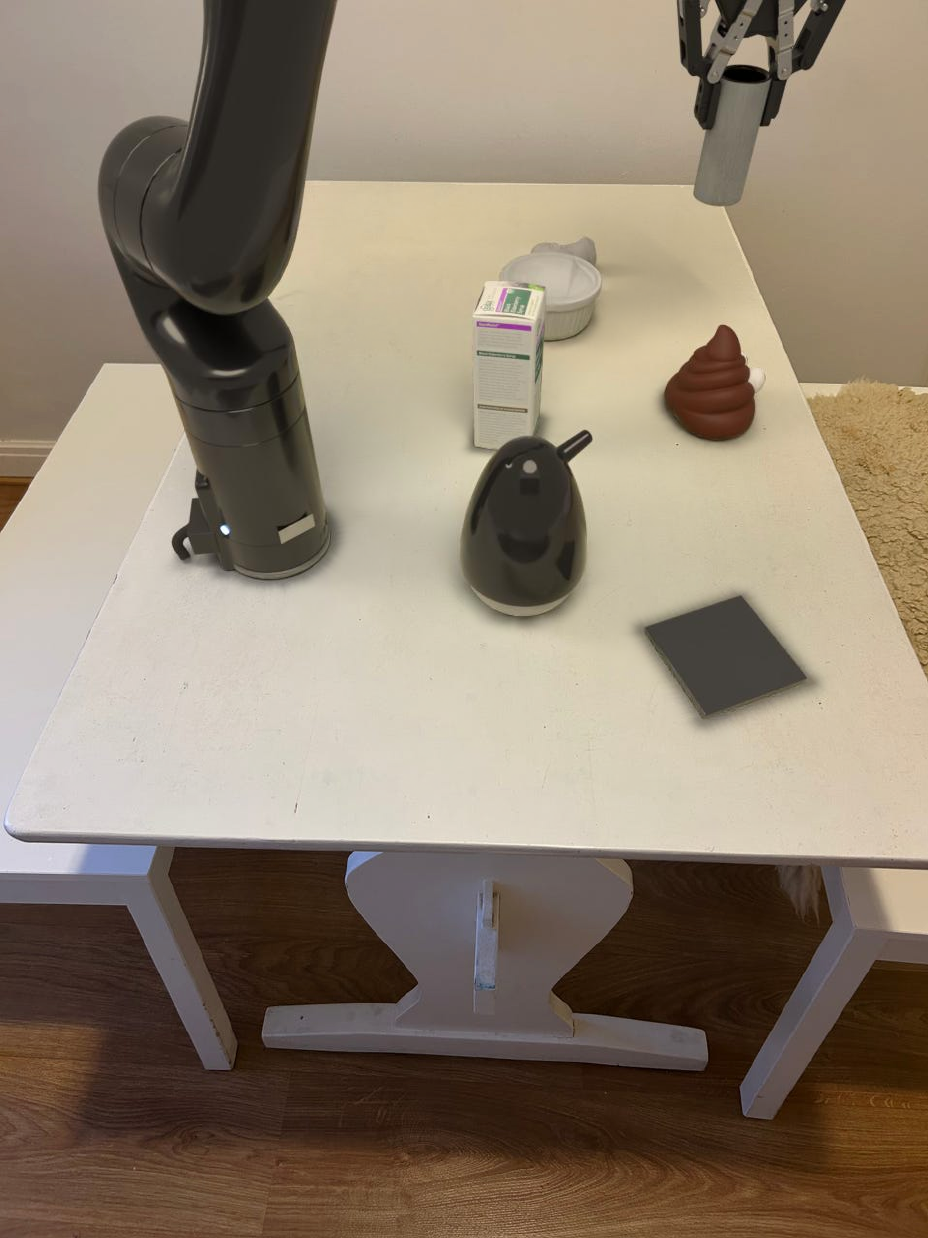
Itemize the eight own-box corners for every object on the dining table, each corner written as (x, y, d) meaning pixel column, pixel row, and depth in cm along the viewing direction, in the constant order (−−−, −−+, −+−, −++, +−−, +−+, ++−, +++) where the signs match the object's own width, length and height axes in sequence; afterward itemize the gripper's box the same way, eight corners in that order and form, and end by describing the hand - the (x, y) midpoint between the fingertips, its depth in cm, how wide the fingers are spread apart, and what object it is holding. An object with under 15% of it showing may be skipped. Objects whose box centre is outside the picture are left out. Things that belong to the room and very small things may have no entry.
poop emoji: (646, 393, 87) (662, 311, 80) (717, 376, 89) (739, 294, 82) (696, 452, 81) (718, 369, 74) (771, 432, 83) (800, 349, 76)
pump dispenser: (607, 604, 69) (636, 460, 57) (500, 654, 66) (506, 514, 54) (540, 528, 75) (553, 383, 63) (438, 571, 71) (431, 427, 60)
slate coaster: (704, 720, 62) (705, 715, 61) (643, 631, 67) (645, 626, 67) (805, 682, 64) (808, 677, 63) (739, 599, 69) (741, 594, 69)
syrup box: (531, 455, 81) (540, 319, 70) (471, 447, 82) (471, 311, 70) (539, 419, 84) (550, 283, 73) (482, 412, 85) (484, 277, 74)
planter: (734, 185, 81) (764, 63, 73) (746, 206, 78) (778, 82, 70) (688, 185, 81) (712, 63, 73) (698, 207, 78) (724, 83, 70)
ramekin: (614, 334, 94) (620, 290, 90) (523, 356, 91) (525, 312, 87) (569, 286, 101) (573, 243, 96) (483, 305, 98) (484, 261, 94)
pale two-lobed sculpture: (531, 292, 102) (526, 260, 104) (596, 288, 102) (590, 256, 104) (533, 266, 98) (528, 232, 100) (601, 261, 98) (595, 228, 100)
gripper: (861, -141, 64) (794, 104, 78) (680, -136, 63) (643, 112, 77) (904, -120, 60) (825, 137, 73) (710, -114, 59) (665, 146, 72)
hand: (732, 123), depth 75 cm, fingers closed on planter, 4 cm apart
